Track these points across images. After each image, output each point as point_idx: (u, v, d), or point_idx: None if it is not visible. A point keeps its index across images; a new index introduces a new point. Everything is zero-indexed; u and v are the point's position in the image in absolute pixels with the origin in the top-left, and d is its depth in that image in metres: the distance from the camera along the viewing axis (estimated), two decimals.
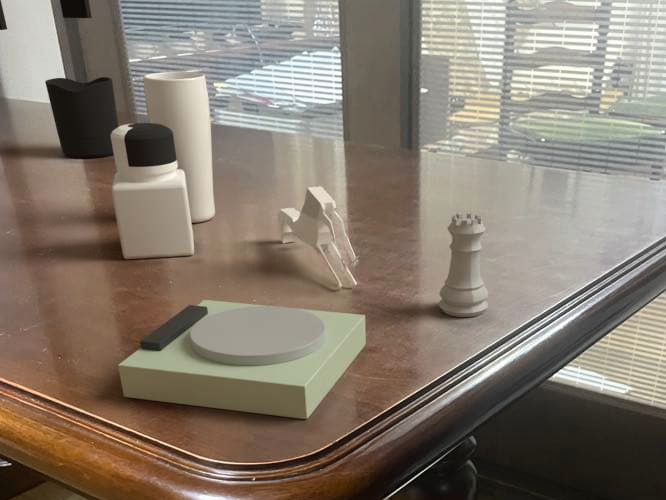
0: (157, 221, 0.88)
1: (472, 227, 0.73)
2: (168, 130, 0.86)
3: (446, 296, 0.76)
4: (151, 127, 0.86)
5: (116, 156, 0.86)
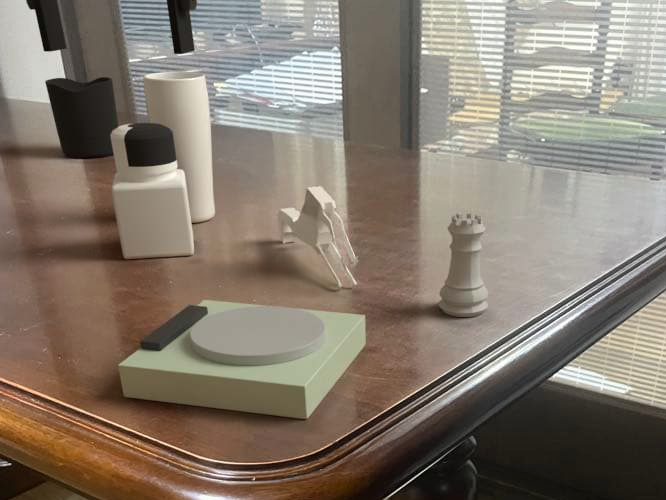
0: (157, 220, 0.88)
1: (472, 227, 0.73)
2: (168, 130, 0.86)
3: (446, 296, 0.76)
4: (151, 127, 0.86)
5: (116, 156, 0.86)
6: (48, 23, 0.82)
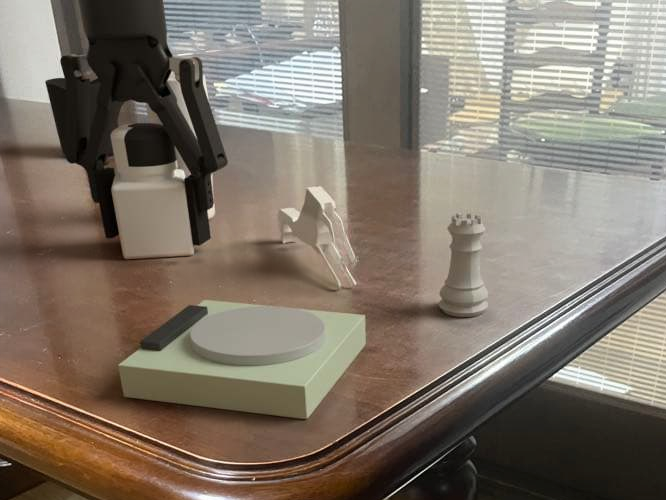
0: (157, 221, 0.88)
1: (472, 227, 0.73)
2: None
3: (446, 296, 0.76)
4: (151, 127, 0.86)
5: (116, 156, 0.86)
6: (110, 215, 0.92)
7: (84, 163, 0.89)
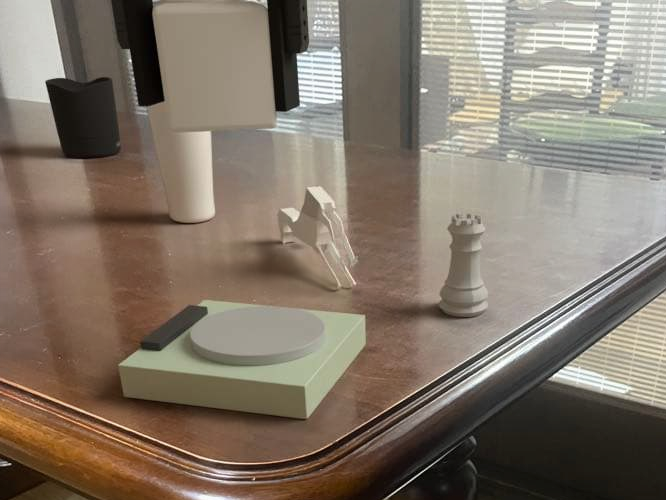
0: (222, 68, 0.56)
1: (472, 227, 0.73)
2: None
3: (446, 296, 0.76)
4: None
5: None
6: (146, 68, 0.59)
7: None
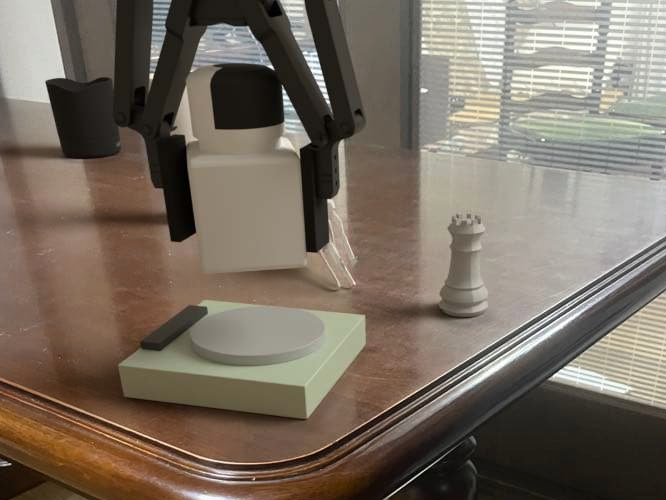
0: (255, 214, 0.57)
1: (472, 227, 0.73)
2: (275, 73, 0.55)
3: (446, 296, 0.76)
4: (250, 67, 0.54)
5: (195, 113, 0.55)
6: (179, 206, 0.60)
7: (142, 126, 0.57)
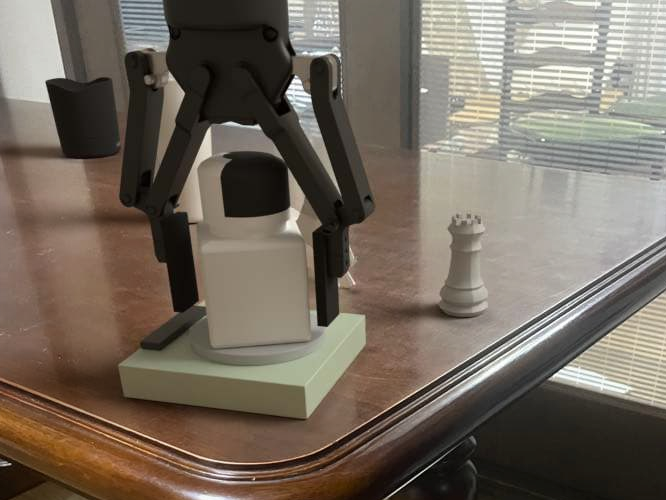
0: (262, 295, 0.60)
1: (472, 227, 0.73)
2: (282, 163, 0.58)
3: (446, 296, 0.76)
4: (258, 159, 0.57)
5: (205, 201, 0.58)
6: (182, 280, 0.63)
7: (147, 207, 0.61)
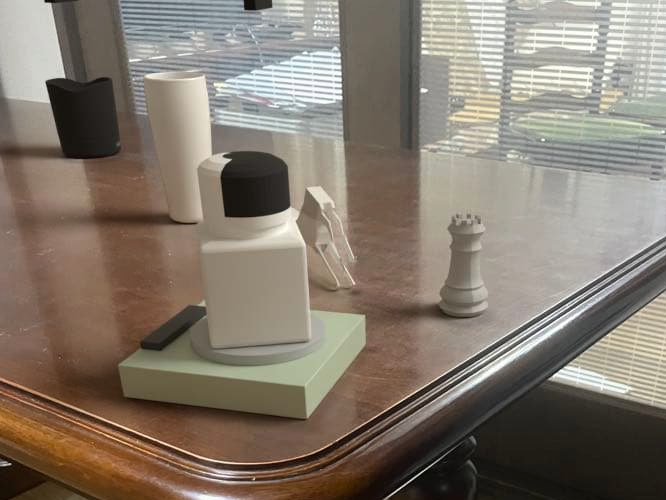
0: (262, 295, 0.60)
1: (472, 227, 0.73)
2: (282, 163, 0.58)
3: (446, 296, 0.76)
4: (258, 159, 0.57)
5: (205, 201, 0.58)
6: None
7: None
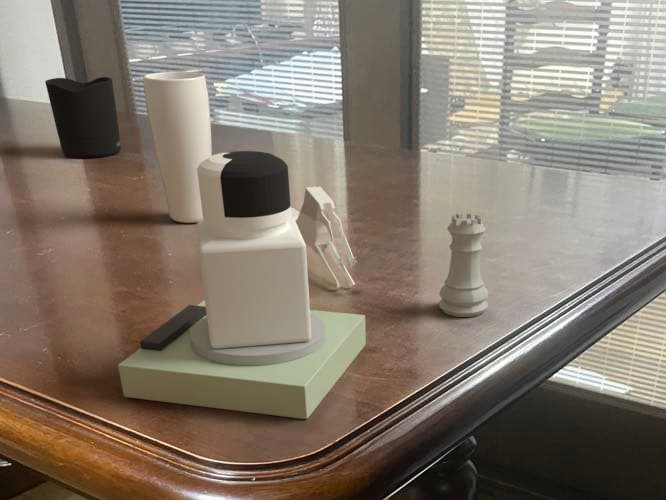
0: (262, 295, 0.60)
1: (472, 227, 0.73)
2: (282, 163, 0.58)
3: (446, 296, 0.76)
4: (258, 159, 0.57)
5: (205, 201, 0.58)
6: None
7: None
